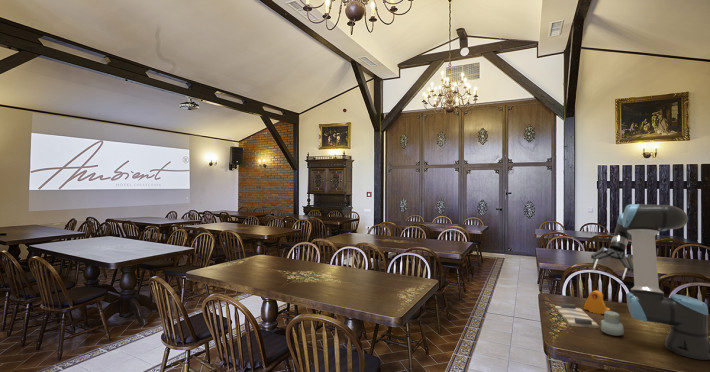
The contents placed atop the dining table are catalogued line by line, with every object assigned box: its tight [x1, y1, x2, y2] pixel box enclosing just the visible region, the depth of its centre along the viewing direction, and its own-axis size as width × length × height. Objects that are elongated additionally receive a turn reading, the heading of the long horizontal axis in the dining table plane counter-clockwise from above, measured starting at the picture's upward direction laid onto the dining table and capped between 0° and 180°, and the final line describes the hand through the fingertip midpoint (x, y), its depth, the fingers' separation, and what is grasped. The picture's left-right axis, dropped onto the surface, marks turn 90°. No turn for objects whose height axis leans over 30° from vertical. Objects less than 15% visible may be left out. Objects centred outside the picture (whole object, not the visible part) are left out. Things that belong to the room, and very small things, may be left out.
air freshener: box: [600, 310, 624, 337], centre depth 166 cm, size 11×8×10 cm
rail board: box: [554, 302, 600, 329], centre depth 186 cm, size 26×13×3 cm, turn 164°
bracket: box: [583, 290, 611, 315], centre depth 195 cm, size 11×7×12 cm, turn 37°
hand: (608, 273), depth 192 cm, fingers open, 13 cm apart
